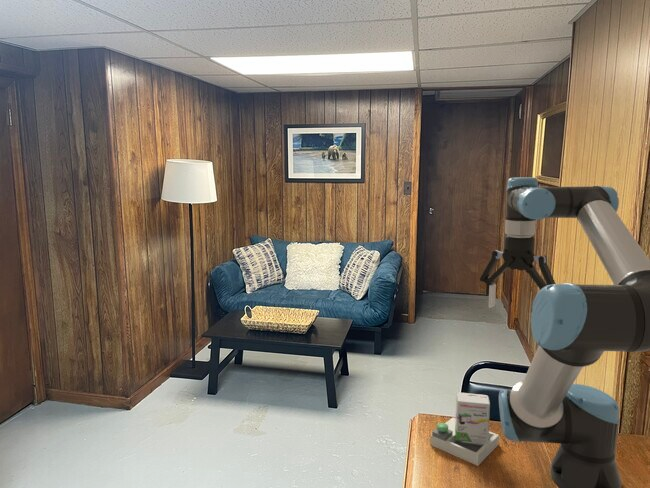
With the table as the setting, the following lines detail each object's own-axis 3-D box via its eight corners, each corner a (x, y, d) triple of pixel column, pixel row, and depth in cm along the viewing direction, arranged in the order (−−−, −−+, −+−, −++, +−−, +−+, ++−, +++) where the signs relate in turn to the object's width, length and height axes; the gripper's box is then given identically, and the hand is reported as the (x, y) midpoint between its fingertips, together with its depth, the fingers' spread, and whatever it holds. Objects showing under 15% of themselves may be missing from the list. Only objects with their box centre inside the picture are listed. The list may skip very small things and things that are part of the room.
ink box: (455, 440, 129) (457, 400, 127) (455, 430, 134) (456, 391, 132) (488, 444, 127) (490, 403, 125) (486, 434, 132) (488, 394, 130)
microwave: (498, 444, 132) (499, 431, 131) (477, 465, 123) (478, 451, 123) (452, 426, 142) (452, 413, 141) (430, 444, 133) (430, 431, 132)
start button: (449, 433, 132) (450, 425, 132) (444, 438, 130) (444, 429, 129) (440, 429, 134) (440, 421, 134) (434, 434, 132) (434, 425, 131)
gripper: (574, 238, 122) (568, 317, 125) (481, 229, 139) (478, 300, 142) (564, 241, 116) (559, 324, 120) (469, 232, 133) (467, 305, 137)
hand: (515, 311), depth 131 cm, fingers open, 13 cm apart
